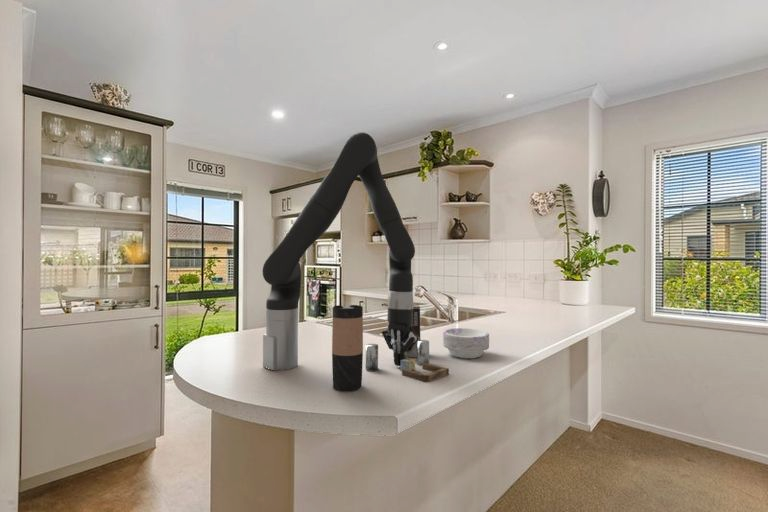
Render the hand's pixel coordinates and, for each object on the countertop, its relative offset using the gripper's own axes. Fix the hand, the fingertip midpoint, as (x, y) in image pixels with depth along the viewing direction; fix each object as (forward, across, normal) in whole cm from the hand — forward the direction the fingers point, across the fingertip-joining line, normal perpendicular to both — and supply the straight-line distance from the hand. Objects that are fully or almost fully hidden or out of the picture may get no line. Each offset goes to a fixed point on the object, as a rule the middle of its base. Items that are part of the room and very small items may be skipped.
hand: (398, 365), depth 111 cm
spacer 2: (+1, -5, +7) cm, 9 cm away
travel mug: (+1, +2, -22) cm, 22 cm away
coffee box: (+1, -8, +13) cm, 16 cm away
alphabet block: (+1, +4, 0) cm, 4 cm away
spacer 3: (+1, +3, +8) cm, 9 cm away
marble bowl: (0, +6, +27) cm, 28 cm away
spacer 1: (+1, -4, -7) cm, 8 cm away
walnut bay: (0, +10, 0) cm, 10 cm away
